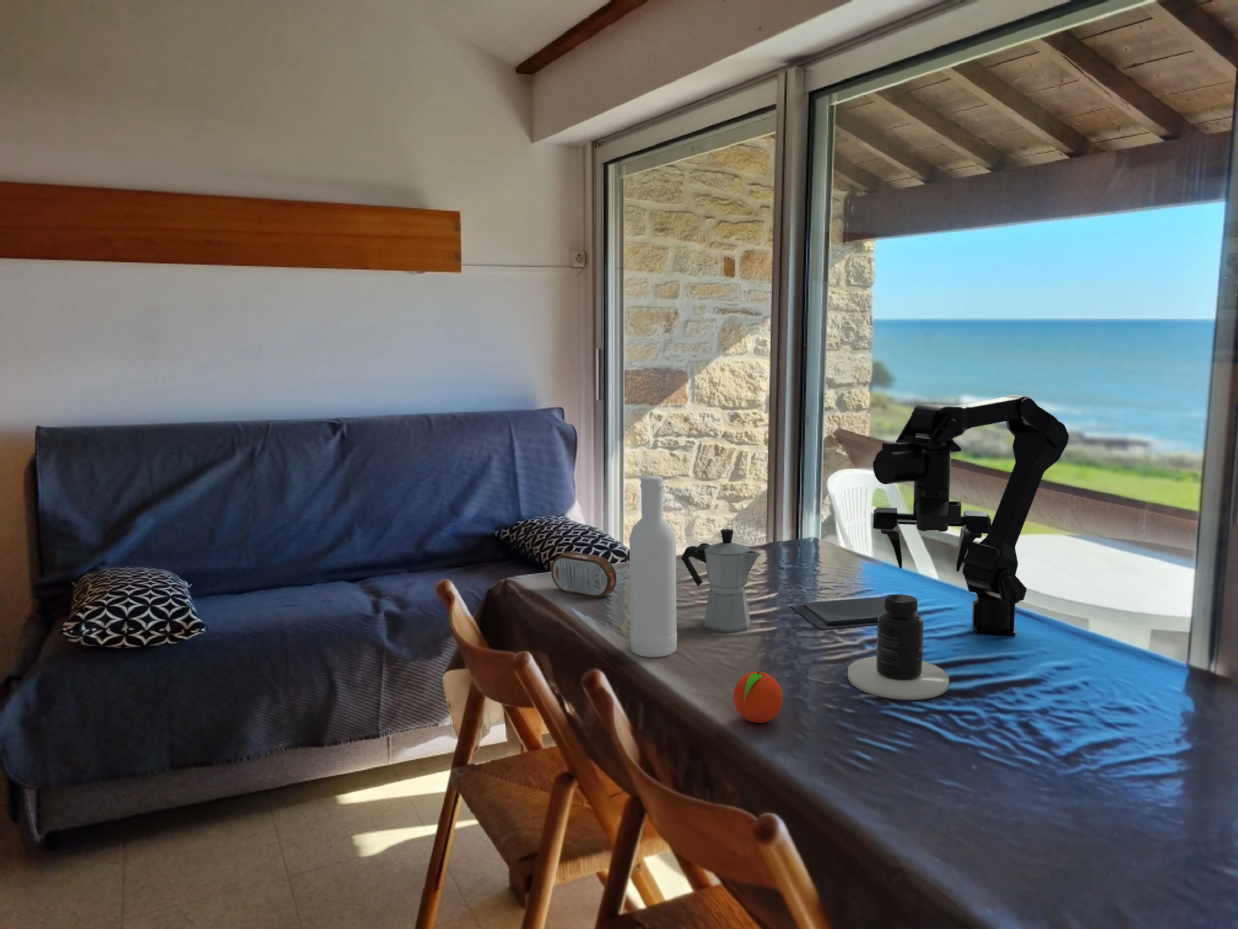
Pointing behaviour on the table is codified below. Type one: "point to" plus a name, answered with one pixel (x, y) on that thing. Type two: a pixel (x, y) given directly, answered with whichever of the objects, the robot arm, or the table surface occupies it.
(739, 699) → the clementine
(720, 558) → the coffee maker
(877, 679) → the saucer
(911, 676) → the supplement bottle
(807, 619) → the dark grey flat block
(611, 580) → the tin
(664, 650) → the bottle
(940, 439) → the robot arm
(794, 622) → the table surface
